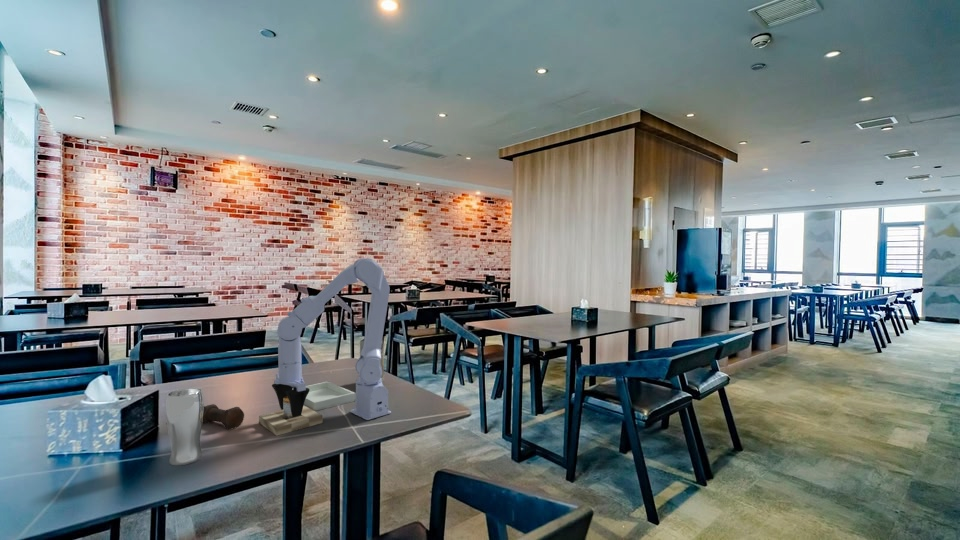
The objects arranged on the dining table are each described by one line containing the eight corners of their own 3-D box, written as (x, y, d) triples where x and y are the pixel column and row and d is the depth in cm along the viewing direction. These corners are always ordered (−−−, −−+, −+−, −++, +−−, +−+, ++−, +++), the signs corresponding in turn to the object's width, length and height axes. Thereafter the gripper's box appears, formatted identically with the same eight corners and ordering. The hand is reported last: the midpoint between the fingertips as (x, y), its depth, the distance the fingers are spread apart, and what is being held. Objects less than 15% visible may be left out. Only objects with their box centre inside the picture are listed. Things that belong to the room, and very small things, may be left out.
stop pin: (300, 422, 119) (300, 397, 118) (286, 426, 116) (286, 400, 116) (294, 419, 121) (294, 394, 121) (281, 422, 118) (281, 397, 118)
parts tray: (355, 400, 137) (355, 392, 137) (314, 411, 127) (314, 402, 127) (328, 388, 149) (327, 381, 149) (289, 397, 140) (289, 389, 140)
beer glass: (163, 459, 97) (162, 391, 97) (200, 449, 102) (199, 385, 102) (170, 470, 92) (168, 399, 92) (208, 459, 97) (207, 392, 97)
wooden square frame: (322, 422, 119) (322, 415, 119) (276, 435, 110) (276, 427, 110) (303, 411, 127) (303, 404, 127) (259, 422, 118) (259, 415, 118)
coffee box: (378, 388, 150) (377, 340, 150) (359, 387, 150) (359, 340, 150) (384, 380, 159) (384, 336, 159) (366, 380, 159) (366, 336, 159)
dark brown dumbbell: (202, 424, 123) (238, 431, 116) (186, 420, 119) (222, 428, 112) (212, 403, 125) (247, 409, 119) (196, 398, 121) (231, 405, 115)
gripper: (264, 359, 120) (265, 409, 121) (285, 369, 110) (286, 423, 110) (290, 355, 125) (291, 403, 126) (313, 364, 115) (313, 416, 116)
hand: (290, 412), depth 118 cm, fingers open, 7 cm apart
